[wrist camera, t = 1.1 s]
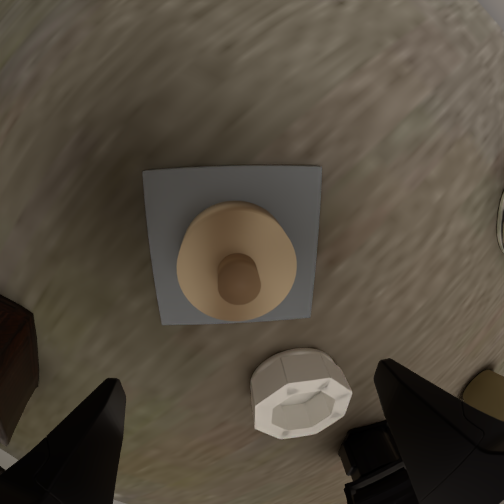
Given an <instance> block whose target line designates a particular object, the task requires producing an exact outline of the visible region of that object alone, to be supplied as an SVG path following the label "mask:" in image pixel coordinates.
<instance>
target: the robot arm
mask: <svg viewBox="0 0 504 504" xmlns="http://www.w3.org/2000/svg"><path fill="white" fill-rule="evenodd" d="M374 383H375V386H376V389H377V393H378V396H379V399H380V403H381V406H382V410H383V413H384V416H385V418H386V421H384V422H381V423H377V424H373V425H370V426H366V427H362V428H358V429H354V430H350V431H349V432H348V433H347V435H346V438H345V440H344V442H343V444H342V446H341V448H340V451H339V453H338V455H339V457H340V458H341V460H342V463H343V466H344V469H345V472H346V475H348V476H350V475H351V477H352V480H353V482H350V483H347V484H345V488H344V492H345V495H346V498H347V504H504V421H501V420H499V419H497V418H495V417H492V416H490V415H488V414H486V413H484V412H482V411H480V410H478V409H476V408H474V407H472V406H470V405H469V404H467V403H465V402H463V401H461V400H460V399H458V398H456V397H455V396H453V395H451V394H450V393H448V392H446V391H445V390H443V389H441V388H439V387H438V386H436V385H434V384H433V383H431V382H429V381H428V380H426V379H424V378H423V377H421V376H419V375H418V374H416V373H414V372H412V371H411V370H409V369H407V368H406V367H404V366H402V365H401V364H399V363H398V362H396V361H394V360H393V359H390V358H388V359H383V360H380V361H379V363H378V366H377V369H376V372H375V375H374ZM125 406H126V395H125V392H124V390H123V387H122V385H121V382H120V380H119V379H117V378H107V379H105V380H104V381H103V382H102V383H101V384H100V385H99V386H98V387H97V388H96V389H95V390H94V391H93V392H92V393H91V394H90V395H89V396H88V397H87V398H86V399H85V400H83V401H82V402H81V403H80V404H79V405H78V406H77V407H76V408H75V409H74V410H73V411H72V412H71V413H70V414H69V415H68V416H67V417H66V418H65V419H64V420H63V421H62V422H61V423H60V424H59V425H57V426H56V427H55V428H54V429H53V430H52V431H51V432H50V433H49V434H48V435H47V438H46V437H45V438H44V439H43V440H42V441H41V442H40V443H39V444H38V445H37V446H35V447H34V448H33V449H32V450H31V451H30V452H29V453H27V454H26V455H25V456H24V457H23V458H21V459H20V460H19V461H17V462H16V463H15V464H13V465H12V466H11V467H9V468H8V469H7V470H6V471H4V472H3V473H1V474H0V504H113V498H114V490H115V483H116V477H117V470H118V464H119V458H120V452H121V447H122V441H123V433H124V418H125Z"/></svg>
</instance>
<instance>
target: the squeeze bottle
mask: <svg viewBox="0 0 504 504" xmlns="http://www.w3.org/2000/svg"><path fill="white" fill-rule="evenodd" d="M463 399H464V402H465V403H467V404H469V405H470V406H472V407H474V408H476V409H478V410H480V411H482V412H484V413H486V414H488V415H490V416H492V417H495V418H497V419H499V420H501V421H504V377H503V376H501V375H499V374H497V373H495V372H493V371H491V370H488V369H487V370H485V371H483V372H481V373H480V374H478V375H477V376H476V377H475V378H474V379H473V380H472V381H471V382H470V383H469V385H468V386H467V387H466V389H465V390H464V393H463Z"/></svg>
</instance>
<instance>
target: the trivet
mask: <svg viewBox="0 0 504 504" xmlns="http://www.w3.org/2000/svg"><path fill="white" fill-rule="evenodd" d="M142 173H143V187H144V199H145V210H146V220H147V229H148V238H149V246H150V254H151V261H152V268H153V275H154V281H155V288H156V294H157V300H158V306H159V311H160V317H161V322H162V325H195V324H223V323H244V322H260V321H275V320H288V319H300V318H310V315H311V306H312V297H313V288H314V278H315V267H316V256H317V244H318V231H319V217H320V201H321V182H322V167H321V166H305V165H230V166H202V167H183V168H168V169H154V170H144V171H142ZM225 201H245V202H249V203H253V204H256V205H258V206H260V207H262V208H264V209H265V210H267V211H268V212H269V213H270V214H272V215H273V216H274V218H275V219H276V220H277V221H278V223H279V224H280V226H281V227H282V229H283V230H284V232H285V233H286V235H287V236H288V238H289V239H290V241H291V243H292V245H293V247H294V250H295V254H296V260H297V270H296V277H295V280H294V283H293V285H292V288H291V290H290V291H289V293H288V295H287V296H286V297H285V299H284V300H283V301H282V302H281V303H280V304H279V305H278V306H277V307H275V308H274V309H273V310H271V311H270V312H268V313H266V314H264V315H262V316H260V317H257V318H254V319H251V320H246V321H224V320H220V319H216V318H213V317H210V316H208V315H206V314H204V313H203V312H201V311H200V310H198V309H197V308H196V307H194V306H193V305H192V304H191V303H190V302H189V300H188V299H187V298H186V296H185V295H184V293H183V292H182V290H181V288H180V285H179V282H178V277H177V258H178V254H179V251H180V248H181V244H182V241H183V238H184V235H185V233H186V230H187V228H188V227H189V225H190V223H191V222H192V221H193V220H194V218H195V217H196V216H197V215H198V214H200V213H201V212H202V211H204V210H205V209H207V208H208V207H210V206H212V205H215V204H218V203H221V202H225Z"/></svg>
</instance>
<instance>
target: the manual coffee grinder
mask: <svg viewBox="0 0 504 504" xmlns="http://www.w3.org/2000/svg"><path fill="white" fill-rule="evenodd" d="M38 380H39V364H38V350H37V336H36V330H35V325H34V319H33V314H32V313H31V312H29V311H28V310H26V309H25V308H24V307H22V306H21V305H19V304H17V303H15V302H14V301H12V300H10V299H8V298H6V297H4V296H2V295H1V294H0V443H2V444H3V445H5V446H7V445H8V444H9V442H10V439H11V437H12V435H13V432H14V430H15V428H16V426H17V424H18V422H19V419H20V417H21V415H22V413H23V411H24V409H25V407H26V405H27V403H28V401H29V399H30V397H31V395H32V394H33V392H34V390H35V389H36V388H37V387H38ZM4 471H6V470H4V469H3V468H2V467H1V466H0V474H1V473H3V472H4Z"/></svg>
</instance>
